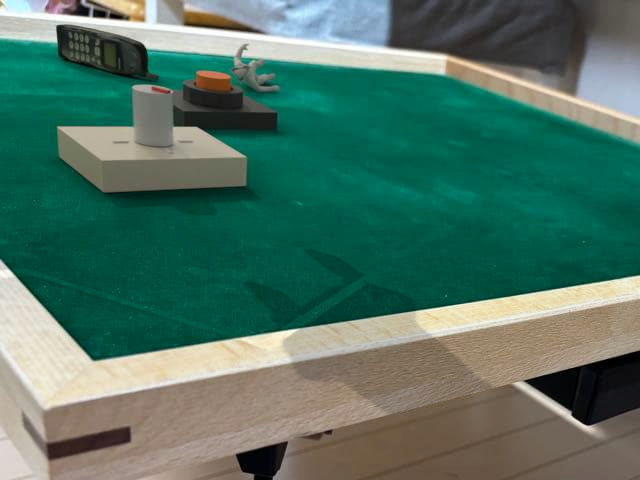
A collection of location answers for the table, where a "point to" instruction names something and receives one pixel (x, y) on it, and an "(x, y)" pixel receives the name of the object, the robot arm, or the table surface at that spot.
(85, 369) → the table surface
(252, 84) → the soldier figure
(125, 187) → the plate
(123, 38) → the mobile phone
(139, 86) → the grey cylinder
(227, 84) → the button
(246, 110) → the button box
